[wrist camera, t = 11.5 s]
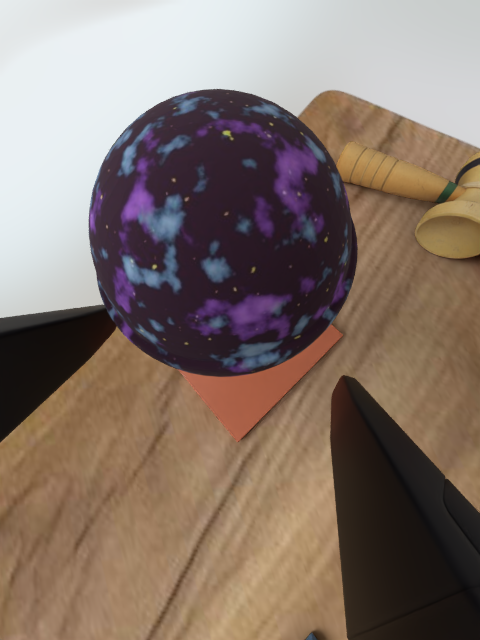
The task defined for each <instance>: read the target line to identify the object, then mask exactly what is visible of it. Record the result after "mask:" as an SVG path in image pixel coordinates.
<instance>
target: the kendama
mask: <svg viewBox="0 0 480 640" xmlns="http://www.w3.org/2000/svg"><path fill="white" fill-rule="evenodd" d="M336 167H337V169H338V171H339V173H340V176H341V178H342V181H344V182H348V183H351V182H352V183H353V184H356V185H361V186H364V187H368V188H373V189H375V190H379V191H381V190H382V191H383V192H387V193H390V194H394V195H398V196H402V197H407V198H412V199H417V200H423V201H429V202H434V203H440V204H439V205H436V206H434V207H433V208H431V209H430V210H428V211H427V212H426V213H425V214H424V216H423V217H422V219H421V220H420V222H419V223H418V225H417V227H416V229H415V237H416V239H417V241H418V243H419V244H420V245H421V246H422V247H423V248H424V249H426V250H427V251H429V252H431V253H433V254H435V255H438V256H442V257H446V258H469V257H474V256H477V255H480V152H478V153H476V154H475V155H473V156H472V157H471V158H470V159H469V160H468V161H467V162H466V163H465V164H464V165H463V167H462V168H461V169H460V171H459V172H458V174H457V176H456V179H455V183H453V182H451V181H449V180H447V179H445V178H443V177H440V176H438V175H436V174H434V173H432V172H430V171H428V170H426V169H423V168H421V167H419V166H416V165H414V164H411V163H408V162H406V161H403V160H398V159H397V158H395V157H392V156H387V155H386V154H384V153H381V152H378V151H376V150H373V149H370V148H367V147H365V146H363V145H361V144H358V143H356V142H353V141H351V142H349V143H348V144H347V145H346V147H345V148H344V150H343V151H342V153H341V155H340V158H339V160H338V163H337V165H336Z"/></svg>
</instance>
